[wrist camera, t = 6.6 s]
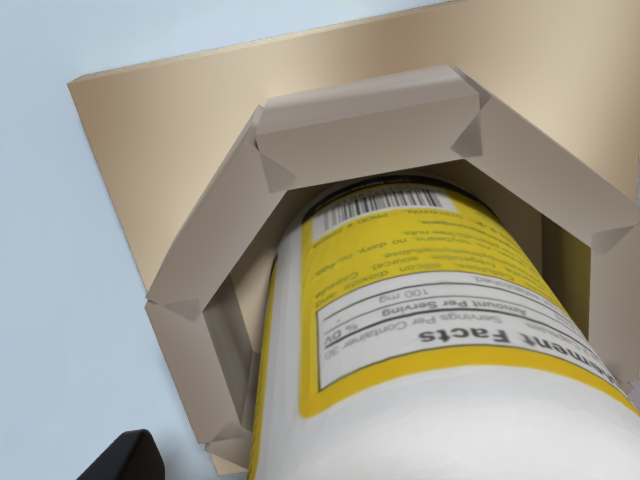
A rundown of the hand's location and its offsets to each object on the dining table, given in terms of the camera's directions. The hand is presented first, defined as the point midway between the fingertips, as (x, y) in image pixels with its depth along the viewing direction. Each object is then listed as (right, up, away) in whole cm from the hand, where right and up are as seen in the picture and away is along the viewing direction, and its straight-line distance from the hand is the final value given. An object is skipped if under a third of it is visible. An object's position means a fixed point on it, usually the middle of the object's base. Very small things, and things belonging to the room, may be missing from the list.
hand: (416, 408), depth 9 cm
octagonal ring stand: (0, +2, +4) cm, 5 cm away
